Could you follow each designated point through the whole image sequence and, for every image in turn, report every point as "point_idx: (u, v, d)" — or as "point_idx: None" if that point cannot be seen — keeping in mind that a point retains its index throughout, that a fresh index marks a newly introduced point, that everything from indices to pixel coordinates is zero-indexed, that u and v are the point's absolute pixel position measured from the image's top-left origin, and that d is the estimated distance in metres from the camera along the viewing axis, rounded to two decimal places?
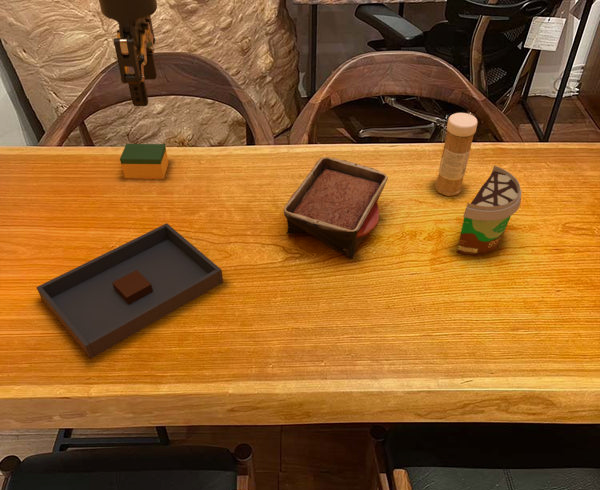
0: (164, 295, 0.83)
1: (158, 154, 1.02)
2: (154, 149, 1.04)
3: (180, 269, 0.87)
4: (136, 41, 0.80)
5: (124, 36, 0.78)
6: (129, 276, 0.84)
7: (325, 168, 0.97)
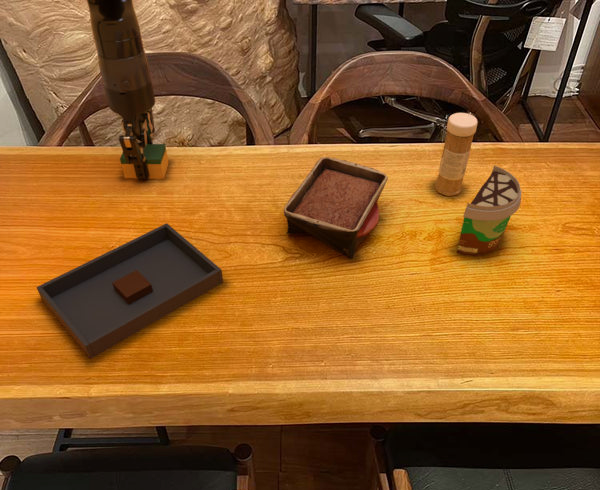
0: (164, 295, 0.83)
1: (158, 154, 1.02)
2: (154, 149, 1.04)
3: (180, 269, 0.87)
4: (136, 130, 0.96)
5: (127, 132, 0.95)
6: (129, 276, 0.84)
7: (325, 168, 0.97)
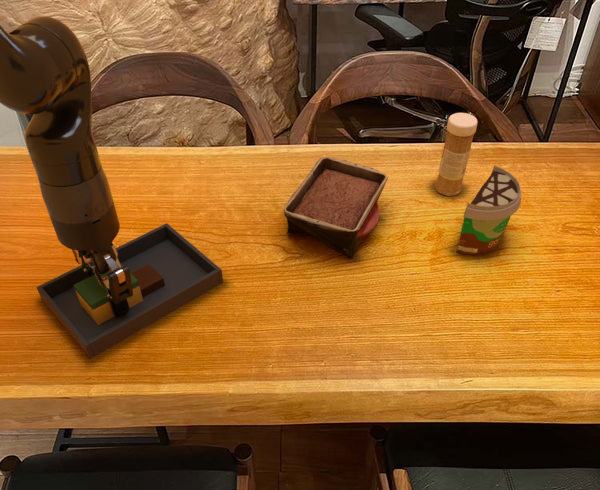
0: (164, 295, 0.83)
1: None
2: None
3: (180, 269, 0.87)
4: (116, 259, 0.73)
5: (113, 265, 0.71)
6: (141, 270, 0.84)
7: (325, 168, 0.97)
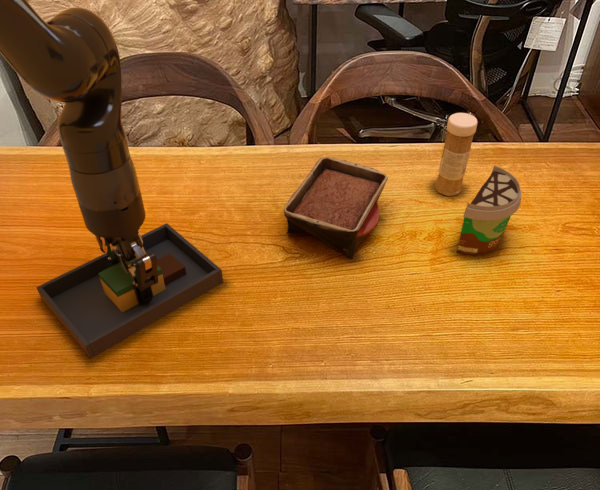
0: (164, 295, 0.83)
1: None
2: None
3: None
4: (142, 246, 0.75)
5: (140, 252, 0.73)
6: (163, 259, 0.86)
7: (325, 168, 0.97)
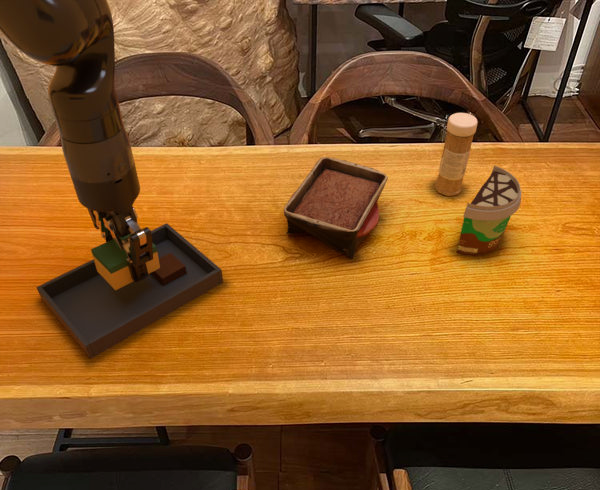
0: (164, 295, 0.83)
1: None
2: None
3: None
4: (136, 221, 0.73)
5: (134, 227, 0.71)
6: (163, 258, 0.86)
7: (325, 168, 0.97)
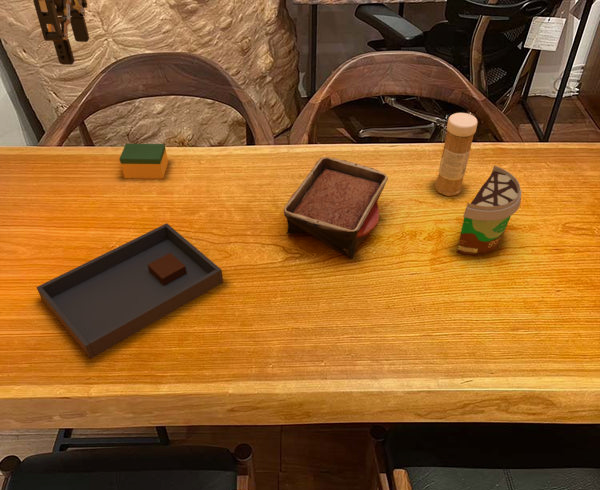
0: (164, 295, 0.83)
1: (158, 154, 1.02)
2: (154, 149, 1.04)
3: None
4: (57, 0, 0.85)
5: None
6: (163, 258, 0.86)
7: (325, 168, 0.97)
